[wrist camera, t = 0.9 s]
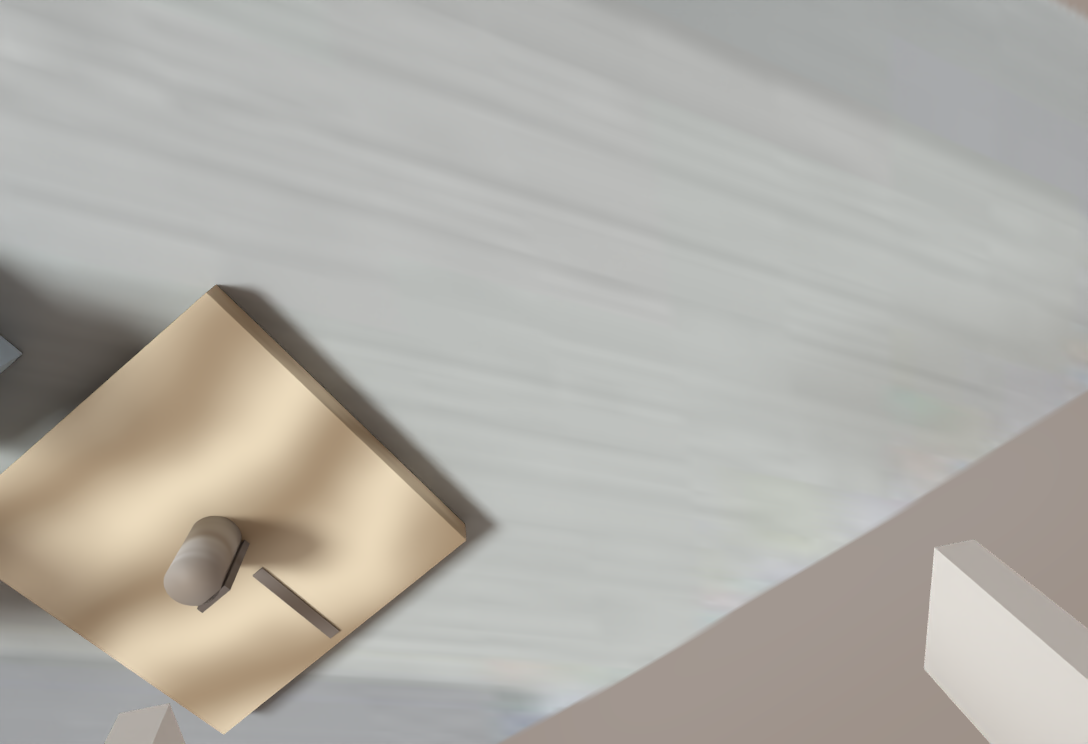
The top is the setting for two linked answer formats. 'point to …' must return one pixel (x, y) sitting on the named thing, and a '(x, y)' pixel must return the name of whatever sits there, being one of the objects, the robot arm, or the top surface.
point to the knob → (7, 354)
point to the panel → (215, 517)
